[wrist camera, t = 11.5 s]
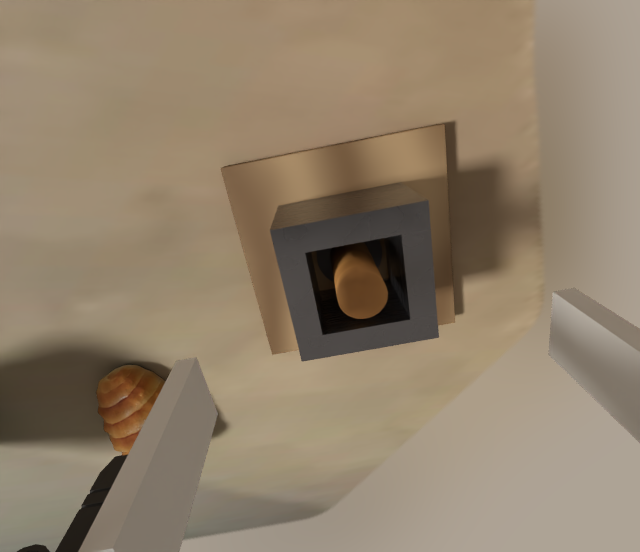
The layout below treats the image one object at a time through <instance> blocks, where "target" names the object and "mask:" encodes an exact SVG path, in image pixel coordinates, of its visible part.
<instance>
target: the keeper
mask: <svg viewBox="0 0 640 552" xmlns="http://www.w3.org/2000/svg"><path fill="white" fill-rule="evenodd" d="M221 172H222V176H223V179H224V183H225V186H226V190H227V194H228V197H229V201H230V204H231V208H232V212H233V215H234V219H235V222H236V226H237V229H238V233H239V237H240V240H241V244H242V247H243V251H244V255H245V258H246V262H247V265H248V269H249V272H250V276H251V280H252V283H253V287H254V290H255V294H256V298H257V301H258V305H259V308H260V312H261V316H262V319H263V323H264V326H265V330H266V333H267V337H268V341H269V344H270V348H271V351H272V355H273V354H279V353H284V352H290V351H296V350H299V348H298V344H297V340H296V335H295V331H294V327H293V323H292V319H291V315H290V311H289V307H288V303H287V299H286V295H285V291H284V287H283V283H282V278H281V274H280V270H279V266H278V262H277V258H276V254H275V250H274V246H273V242H272V238H271V234H270V228H271V225H272V222H273V219H274V217H275V214H276V211H277V208H278V206H279V205H285V204H290V203H295V202H300V201H305V200H310V199H316V198H321V197H326V196H331V195H336V194H342V193H347V192H352V191H357V190H362V189H367V188H373V187H378V186H383V185H388V184H393V183H398V182H401V183H403V184H404V185H406V186H407V187H409V188H410V189H412V190H414V191H415V192H417V193H418V194H420V195H421V196H423V197H424V198H426V199H428V200H429V212H430V226H431V239H432V253H433V266H434V280H435V293H436V306H437V320H438V325H443V324H449V323H455V312H454V293H453V274H452V255H451V236H450V217H449V198H448V179H447V160H446V141H445V124H437V125H432V126H427V127H422V128H417V129H412V130H407V131H402V132H396V133H391V134H386V135H381V136H376V137H371V138H366V139H361V140H356V141H351V142H346V143H341V144H336V145H331V146H326V147H321V148H316V149H311V150H306V151H301V152H296V153H290V154H285V155H280V156H275V157H270V158H265V159H260V160H255V161H250V162H245V163H240V164H235V165H230V166H225V167H222V168H221ZM311 253H312V258H313V262H314V267H315V272H316V277H317V282H318V287H319V291H322V290H327V289H333V288H336V294H337V300H338V304H339V306H340V308H341V310H342V311H343V312H344V313H345V314H347V315H348V316H350V317H353V318H357V319H366V318H370V317H372V316H374V315H376V314H378V313H379V312H380V311H381V310H382V309H383V308H384V306H385V304H386V302H387V298H388V291H387V287H386V285H385V283H384V281H383V279H387V278H389V276H388V268H387V260H386V252H385V244H384V238H381V239H376V240H371V241H365V242H360V243H355V244H349V245H344V246H339V247H333V248H328V249H323V250H317V251H312V252H311Z"/></svg>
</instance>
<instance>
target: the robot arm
mask: <svg viewBox="0 0 640 552" xmlns="http://www.w3.org/2000/svg"><path fill="white" fill-rule="evenodd" d="M549 356H550V357H551V358H552V359H553V360H555V362H556V363H557V364H559V365H560V366H561V367H562V368H563V369H564V370H565V371H566V372H567V373H568V374H569V375H570V376H571V377H572V378H573V379H574V380H575V381H576V382H577V383H578V384H579V385H580V386H581V387H582V388H583V389H584V390H586V392H588V393H589V394H590V395H591V396H592V397H593V398H594V399H595V400H596V401H597V402H598V403H599V404H600V405H601V406H602V407H603V408H604V409H605V410H606V411H607V412H608V413H609V414H610V415H611V416H612V417H613V418H614V419H616V421H618V422H619V423H620V424H621V425H622V426H623V427H624V428H625V429H626V430H627V431H628V432H629V433H630V434H631V435H632V436H633V437H634V438H635V439H636V440H637V441H638V442H639V443H640V329H639V328H638V327H636V326H634V325H633V324H631V323H629V322H628V321H626V320H625V319H623V318H622V317H620V316H618V315H617V314H615V313H614V312H612V311H611V310H609V309H607V308H606V307H604V306H603V305H601V304H599V303H598V302H596V301H595V300H593V299H591V298H590V297H588V296H587V295H585V294H583V293H582V292H580V291H579V290H577V289H575V288H571V289H566V290H560V291H555V292H553V299H552V314H551V328H550V341H549ZM217 416H218V412H217V410H216V407H215V405H214V402H213V399H212V397H211V394H210V391H209V389H208V386H207V384H206V381H205V378H204V376H203V373H202V371H201V368H200V365H199V363H198V360H197V357H195V358H189V359H184V360H178V361H176V362H175V364H174V366H173V368H172V370H171V372H170V374H169V376H168V378H167V380H166V382H165V384H164V386H163V388H162V390H161V392H160V393H159V395H158V397H157V399H156V401H155V403H154V405H153V407H152V409H151V411H150V413H149V415H148V417H147V419H146V421H145V423H144V425H143V427H142V429H141V431H140V432H139V434H138V436H137V438H136V440H135V442H134V444H133V446H132V448H131V450H130V452H129V454H127V455H121V456H116V457H114V458H113V460H112V461H111V462H110V463H109V464H108V465H107V466H106V467H105V468H104V469H103V470H102V471H101V472H100V474H99V476H98V477H97V479H96V481H95V483H94V484H93V486H92V488H91V490H90V494H88V495H87V497H86V499H85V500H84V502H83V504H82V508H81V509H80V510H79V511H78V513H77V514H76V516H75V518H74V520H73V522H72V523H71V525H70V527H69V529H68V530H67V532H66V534H65V536H64V537H63V539H62V541H61V543H60V544H59V546H58V548H57V550H56V552H179V551H180V547H181V544H182V540H183V537H184V533H185V529H186V526H187V522H188V519H189V515H190V512H191V508H192V505H193V501H194V497H195V494H196V490H197V487H198V483H199V480H200V476H201V473H202V469H203V465H204V462H205V458H206V455H207V451H208V448H209V444H210V440H211V437H212V433H213V430H214V426H215V423H216V419H217ZM17 552H49V550H48V549H47V548H46V546H43V545H37V544H35V545H32V546H28V547H24V548H22V549H21V550H19V551H17Z"/></svg>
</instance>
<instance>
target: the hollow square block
mask: <svg viewBox="0 0 640 552" xmlns="http://www.w3.org/2000/svg"><path fill="white" fill-rule="evenodd" d="M270 234H271V238H272V242H273V246H274V250H275V254H276V258H277V262H278V266H279V270H280V274H281V278H282V283H283V287H284V291H285V295H286V299H287V303H288V307H289V311H290V315H291V319H292V323H293V327H294V331H295V335H296V340H297V344H298V348H299V352H300V356H301V360H302V361H308V360H313V359H319V358H325V357H331V356H336V355H342V354H348V353H353V352H359V351H365V350H370V349H376V348H382V347H388V346H393V345H399V344H405V343H410V342H416V341H422V340H427V339H433V338H439V333H438V320H437V306H436V293H435V280H434V266H433V253H432V239H431V226H430V212H429V200H428V199H426V198H424V197H423V196H421V195H420V194H418V193H417V192H415V191H414V190H412V189H410V188H409V187H407V186H406V185H404V184H403V183H401V182H398V183H393V184H388V185H383V186H378V187H373V188H367V189H362V190H357V191H352V192H347V193H342V194H336V195H331V196H326V197H321V198H316V199H310V200H305V201H300V202H295V203H290V204H285V205H279V206H278V208H277V211H276V214H275V217H274V219H273V222H272V225H271V228H270ZM381 238H384V244H385V252H386V260H387V268H388V276H389V278H387V279H383V281H384V283H385V285H386V287H387V291H388V298H387V302H386V304H385V306H384V308H383V309H382V310H381V311H380V312H379V313H378V314H376V315H374V316H372V317H370V318H366V319H357V318H353V317H350V316H348V315H347V314H345V313H344V312H343V311H342V310H341V308H340V306H339V304H338V300H337V294H336V288H333V289H327V290H322V291H319V287H318V282H317V277H316V272H315V267H314V262H313V258H312V253H311V252H312V251H317V250H323V249H328V248H333V247H339V246H344V245H349V244H355V243H360V242H365V241H371V240H376V239H381Z"/></svg>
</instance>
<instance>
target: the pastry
mask: <svg viewBox="0 0 640 552" xmlns="http://www.w3.org/2000/svg"><path fill="white" fill-rule="evenodd" d="M165 382H166V381H164V380H163V379H162V378H161V377H159V376H158V375H156V374H155V373H154V372H152V371H149V370H146V369H144V368H142V367H140V366H138V365H124V366H122V367H119V368H116V369H114V370H113V371H112V372H110V373H109V374H108V375H107V376H105V377H104V378H102V379H101V380H100V381H99V383H98V389H97V391H96V394H97V399H98V403H99V408H98V413H99V415H101V416H102V417H103V419H104V431H105V432H107V433H108V434H110V440H111V442H112V444H113V447H114V449H115V450H116V451H119V452H122V455H127V454H129V452H130V450H131V448H132V446H133V444H134V442H135V440H136V438H137V436H138V434H139V432H140V431H141V429H142V427H143V425H144V423H145V421H146V419H147V417H148V415H149V413H150V411H151V409H152V407H153V405H154V403H155V401H156V399H157V397H158V395H159V393H160V392H161V390H162V388H163V386H164V384H165Z"/></svg>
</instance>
